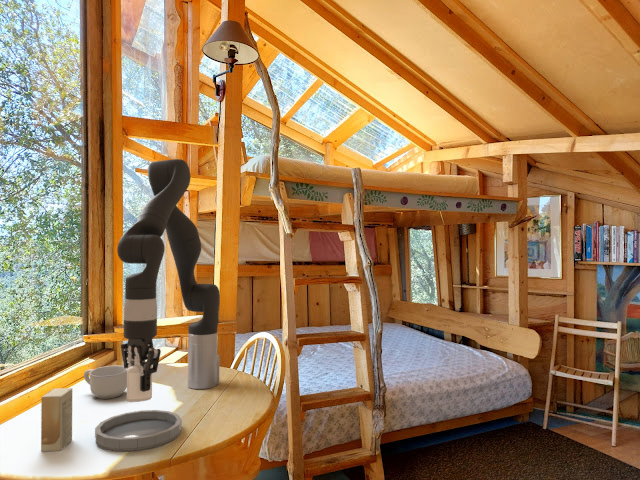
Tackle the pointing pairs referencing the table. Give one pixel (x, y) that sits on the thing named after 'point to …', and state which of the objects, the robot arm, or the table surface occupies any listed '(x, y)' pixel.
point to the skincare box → (56, 419)
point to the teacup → (107, 381)
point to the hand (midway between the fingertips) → (139, 388)
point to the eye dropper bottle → (136, 384)
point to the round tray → (138, 430)
